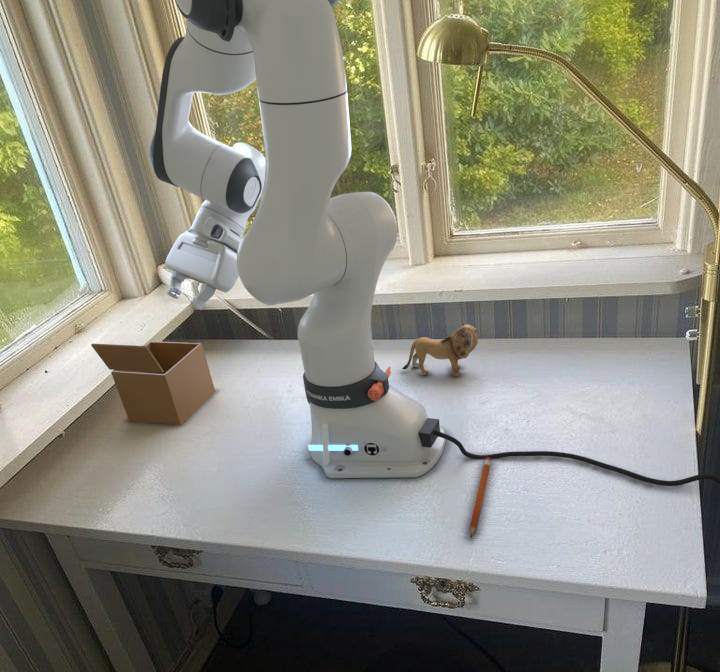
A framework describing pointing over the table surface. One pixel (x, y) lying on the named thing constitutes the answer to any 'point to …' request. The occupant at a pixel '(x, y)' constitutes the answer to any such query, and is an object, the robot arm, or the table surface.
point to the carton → (166, 384)
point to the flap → (127, 357)
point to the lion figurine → (444, 348)
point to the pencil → (479, 496)
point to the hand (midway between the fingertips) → (183, 302)
